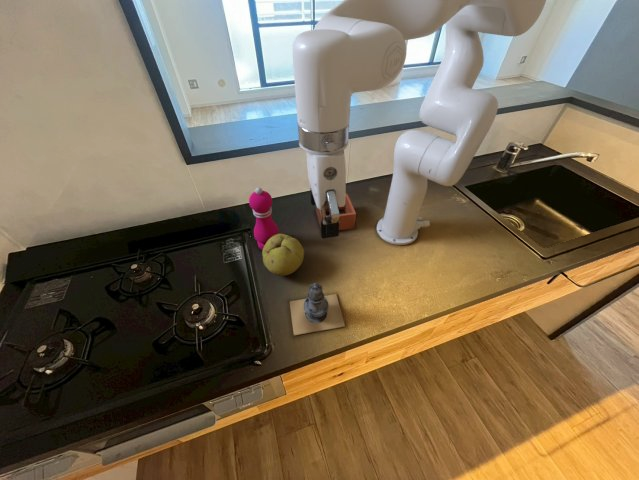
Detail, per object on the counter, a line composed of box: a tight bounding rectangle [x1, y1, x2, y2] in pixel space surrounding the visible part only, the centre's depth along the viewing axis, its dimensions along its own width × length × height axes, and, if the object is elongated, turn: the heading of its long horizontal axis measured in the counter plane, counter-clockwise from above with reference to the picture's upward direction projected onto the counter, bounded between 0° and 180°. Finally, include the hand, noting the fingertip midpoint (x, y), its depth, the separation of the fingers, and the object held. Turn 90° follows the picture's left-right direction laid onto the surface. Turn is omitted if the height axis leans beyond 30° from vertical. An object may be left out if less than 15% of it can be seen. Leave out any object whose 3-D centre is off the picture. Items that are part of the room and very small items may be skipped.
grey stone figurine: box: [303, 282, 329, 323], centre depth 63 cm, size 6×6×12 cm
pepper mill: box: [248, 186, 280, 251], centre depth 77 cm, size 7×7×20 cm
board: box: [289, 293, 346, 337], centre depth 67 cm, size 12×9×1 cm
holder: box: [315, 193, 357, 231], centre depth 90 cm, size 11×11×6 cm
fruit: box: [261, 233, 305, 277], centre depth 74 cm, size 11×12×10 cm
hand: (324, 218), depth 54 cm, fingers open, 9 cm apart
